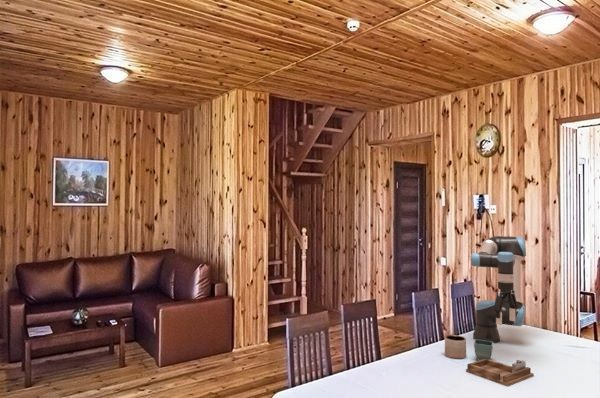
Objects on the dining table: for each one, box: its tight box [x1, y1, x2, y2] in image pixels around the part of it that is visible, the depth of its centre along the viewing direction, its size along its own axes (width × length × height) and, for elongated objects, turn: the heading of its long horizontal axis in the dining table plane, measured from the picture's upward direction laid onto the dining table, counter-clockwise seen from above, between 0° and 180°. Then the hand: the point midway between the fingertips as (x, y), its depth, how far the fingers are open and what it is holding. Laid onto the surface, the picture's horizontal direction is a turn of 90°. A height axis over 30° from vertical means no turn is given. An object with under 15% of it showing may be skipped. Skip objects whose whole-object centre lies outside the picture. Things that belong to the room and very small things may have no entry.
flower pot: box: [473, 339, 494, 361], centre depth 228 cm, size 9×9×9 cm
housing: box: [465, 358, 535, 387], centre depth 208 cm, size 21×22×4 cm
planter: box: [444, 334, 467, 360], centre depth 234 cm, size 11×11×10 cm
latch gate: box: [511, 359, 527, 372], centre depth 205 cm, size 2×9×6 cm, turn 124°
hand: (505, 322), depth 229 cm, fingers open, 13 cm apart
